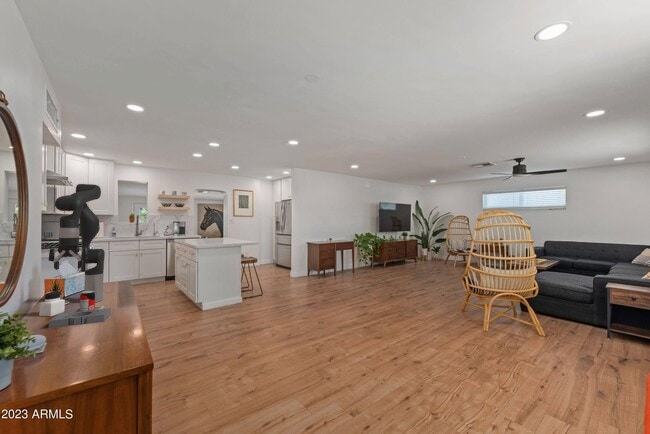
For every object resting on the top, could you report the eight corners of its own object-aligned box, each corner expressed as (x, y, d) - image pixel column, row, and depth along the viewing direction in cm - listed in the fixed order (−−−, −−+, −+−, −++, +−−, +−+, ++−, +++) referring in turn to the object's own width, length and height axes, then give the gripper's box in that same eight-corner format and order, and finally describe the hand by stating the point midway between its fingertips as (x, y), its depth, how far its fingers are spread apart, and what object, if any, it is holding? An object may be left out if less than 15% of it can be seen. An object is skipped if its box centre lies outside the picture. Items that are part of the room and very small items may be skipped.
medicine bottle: (64, 312, 152) (65, 290, 153) (50, 316, 145) (51, 293, 146) (53, 311, 153) (54, 290, 153) (38, 316, 146) (39, 293, 146)
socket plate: (48, 328, 129) (48, 320, 129) (60, 320, 140) (60, 313, 140) (103, 321, 138) (104, 314, 138) (110, 314, 149) (110, 308, 149)
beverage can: (97, 312, 152) (98, 290, 153) (84, 316, 146) (85, 293, 147) (89, 311, 154) (89, 290, 154) (76, 315, 148) (77, 292, 148)
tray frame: (77, 311, 153) (77, 308, 153) (104, 309, 158) (104, 305, 158) (68, 318, 142) (68, 314, 142) (97, 315, 147) (97, 311, 147)
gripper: (89, 236, 144) (89, 266, 144) (53, 236, 138) (53, 268, 137) (84, 236, 137) (83, 269, 137) (46, 237, 131) (45, 271, 131)
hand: (68, 268), depth 137 cm, fingers open, 8 cm apart
